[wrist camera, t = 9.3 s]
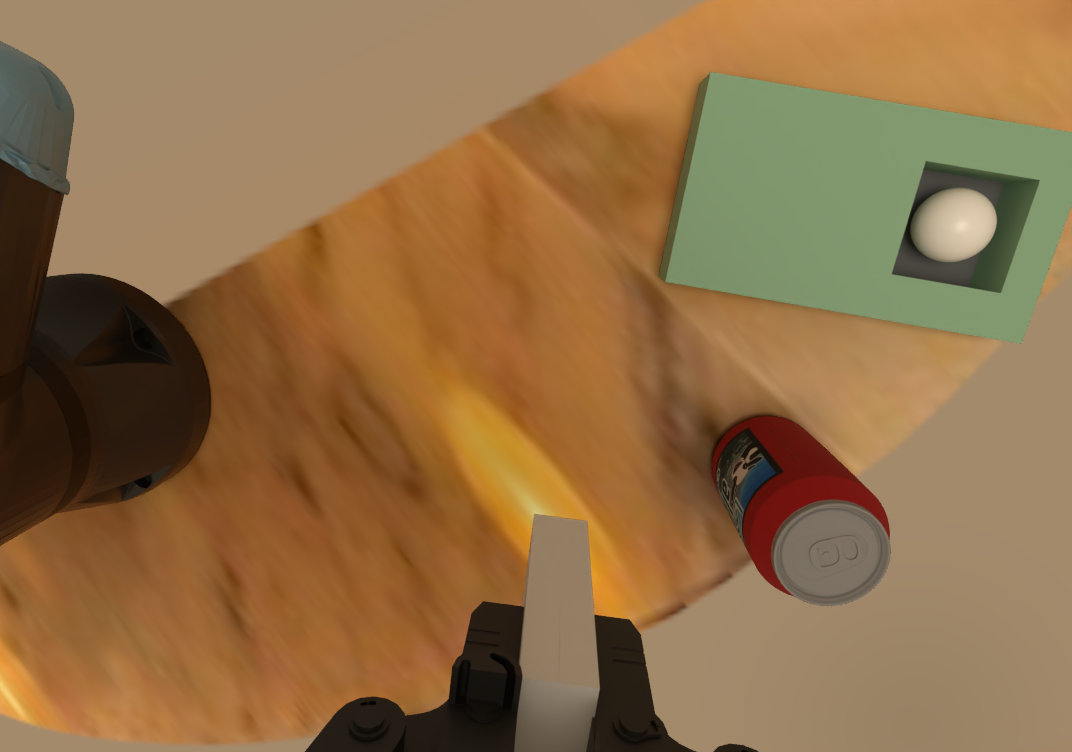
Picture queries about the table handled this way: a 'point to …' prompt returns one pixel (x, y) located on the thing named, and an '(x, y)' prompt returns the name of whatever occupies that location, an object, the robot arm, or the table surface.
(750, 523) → the beverage can
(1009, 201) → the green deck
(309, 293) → the table surface
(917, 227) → the ball
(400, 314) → the table surface
